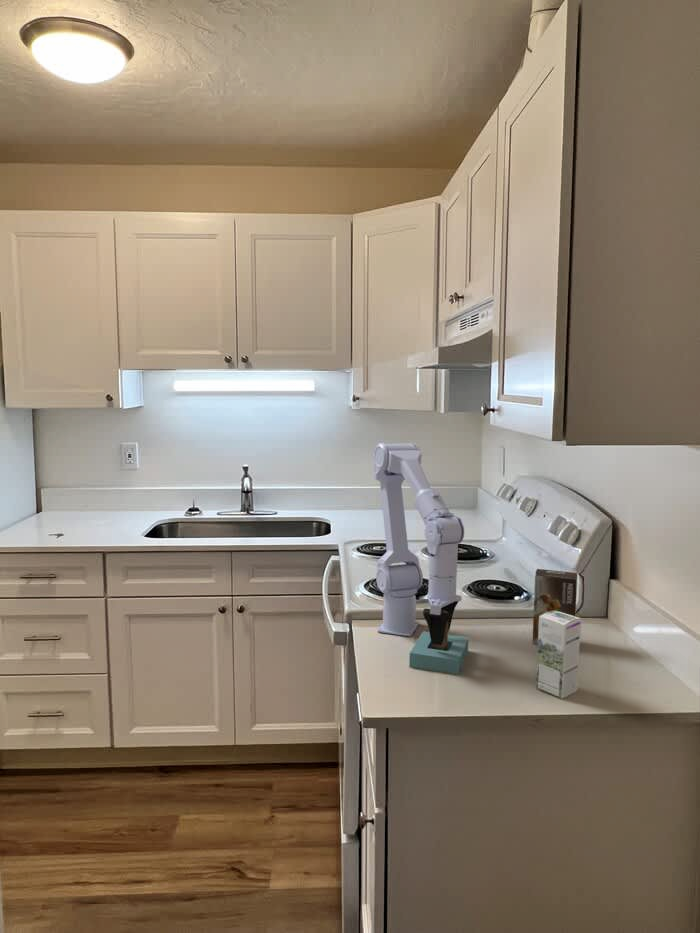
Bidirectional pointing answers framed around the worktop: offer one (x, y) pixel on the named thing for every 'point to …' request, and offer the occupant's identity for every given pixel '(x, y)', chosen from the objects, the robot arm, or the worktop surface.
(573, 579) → the coffee box
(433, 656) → the hole block
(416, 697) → the worktop surface
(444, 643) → the walnut peg
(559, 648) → the syrup box
